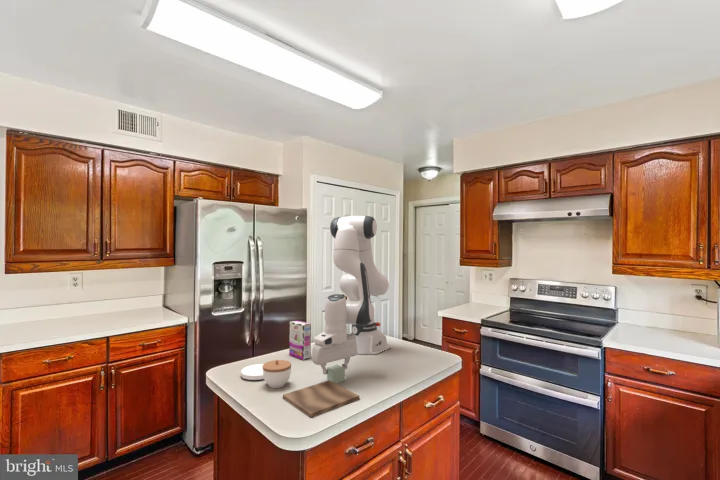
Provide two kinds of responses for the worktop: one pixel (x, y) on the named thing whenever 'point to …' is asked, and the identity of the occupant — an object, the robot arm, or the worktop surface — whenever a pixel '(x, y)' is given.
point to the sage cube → (336, 373)
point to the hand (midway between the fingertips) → (335, 371)
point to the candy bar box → (300, 340)
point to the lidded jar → (276, 373)
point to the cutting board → (320, 398)
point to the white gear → (253, 372)
